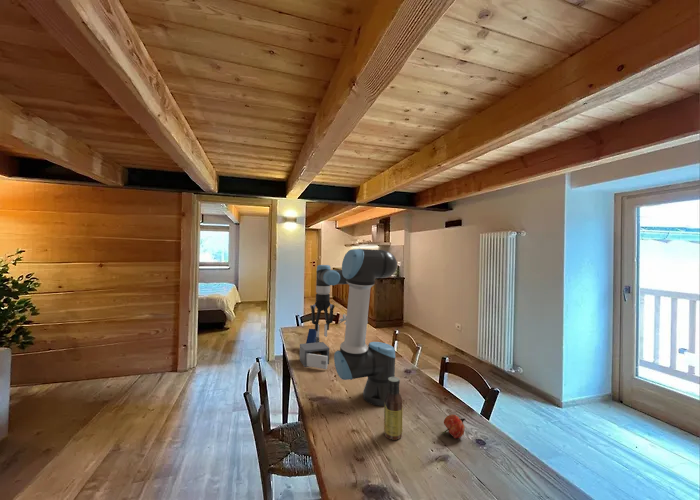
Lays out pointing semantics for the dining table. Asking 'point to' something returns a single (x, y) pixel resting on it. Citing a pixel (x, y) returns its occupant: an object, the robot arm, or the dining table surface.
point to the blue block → (312, 336)
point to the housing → (313, 351)
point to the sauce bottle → (393, 410)
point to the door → (316, 361)
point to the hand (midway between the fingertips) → (321, 336)
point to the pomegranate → (454, 425)
